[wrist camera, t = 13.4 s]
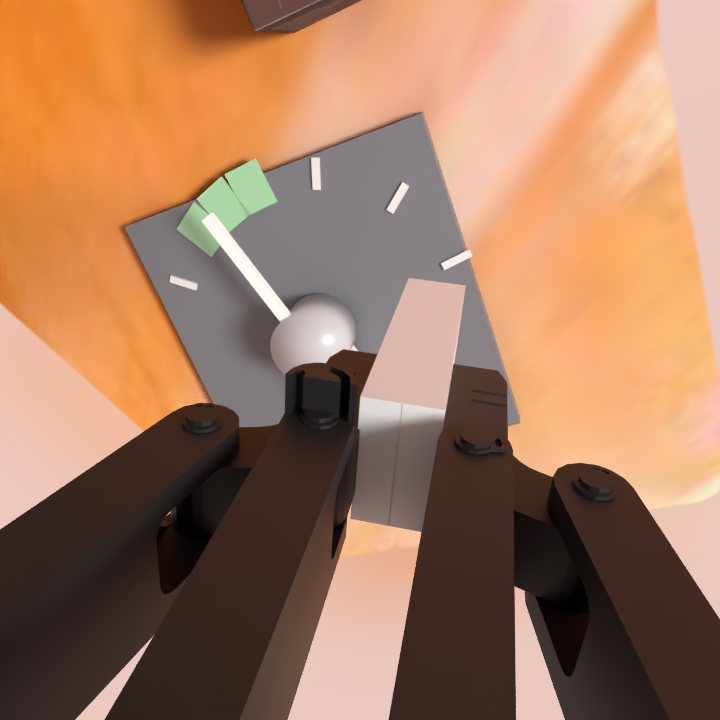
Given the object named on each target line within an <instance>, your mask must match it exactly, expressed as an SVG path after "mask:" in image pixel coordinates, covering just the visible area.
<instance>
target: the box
mask: <svg viewBox="0 0 720 720" xmlns="http://www.w3.org/2000/svg"><path fill="white" fill-rule="evenodd" d="M241 1H242V3H243V5H244V8H245V11H246V12H247V15H248V17H249V20H250V22H251V24H252V27H253V29H254V30H255V31H271V32H292V33H294V32H297V31H299V30H301V29H303V28H305V27H307V26H310V25H312V24H314V23H315V22H318V21H320V20H322V19H324V18H326V17H328V16H330V15H332V14H334V13H336V12H338V11H340V10H342V9H344V8H346V7H348V6H351V5H353V4H355V3H357V2H359V1H361V0H241Z"/></svg>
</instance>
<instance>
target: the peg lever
mask: <svg viewBox="0 0 720 720" xmlns="http://www.w3.org/2000/svg"><path fill="white" fill-rule="evenodd" d="M202 222H203V224H204V225H205V226H206V228H207V229H208V230H209V231H210V233H211V234H212V235H213V237H214V238H215V239H216V240H217V242H218V243H219V244H220V245H221V247H222V248H223V249H224V251H225V252H226V253H227V254H228V256H229V257H230V258H231V260H232V261H233V262H234V263H235V265H236V266H237V267H238V269H239V270H240V271H241V272H242V274H243V275H244V276H245V278H246V279H247V280H248V281H249V283H250V284H251V285H252V286H253V288H254V289H255V290H256V292H257V293H258V294H259V295H260V297H261V298H262V299H263V301H264V302H265V303H266V304H267V306H268V307H269V308H270V310H271V311H272V312H273V313H274V315H275V316H276V317H277V319H278V320H279V321H280V323H279V325H278V326H277V327H276V329H275V330H274V332H273V334H272V337H271V342H270V350H271V355H272V358H273V361H274V362H275V364H276V366H277V367H278V369H279V370H280V371H281V372H282V373H283V374H284V375H285V374H286V373H287V372H288V371H289V370H290V369H292V368H293V367H296V366H299V365H302V364H307V363H315V362H317V363H326V362H327V361H328V359H329V357H331V356H333V355H334V354H336V353H338V352H339V351H341V350H343V349H346V350H353V351H358V350H357V349H356V347H355V346H354V343H355V340H356V336H357V324H356V320H355V317H354V315H353V313H352V312H351V310H350V309H349V308H348V307H347V305H345V304H344V303H343V302H342V301H340V300H339V299H337V298H335V297H333V296H330V295H326V294H312V295H308V296H305V297H303V298H302V299H300V300H299V301H298V302H297V303H296V304H295V305H294V306H293V307H292V308H291V310H290V311H289V310H288V309H287V307H286V306H285V305H284V303H283V302H282V301H281V300H280V298H279V297H278V296H277V294H276V293H275V292H274V291H273V289H272V288H271V287H270V285H269V284H268V283H267V281H266V280H265V279H264V278H263V276H262V275H261V274H260V272H259V271H258V270H257V269H256V267H255V266H254V265H253V263H252V262H251V261H250V259H249V258H248V257H247V256H246V254H245V253H244V252H243V250H242V249H241V248H240V246H239V245H238V244H237V243H236V241H235V240H234V239H233V237H232V236H231V235H230V234H229V232H228V231H227V230H226V228H225V227H224V226H223V224H222V223H221V222H220V221H219V219H218V218H217V217H216V215H215V214H214V213H211V214H210V215H208V216H207V217H206V218H205V219H203V220H202Z"/></svg>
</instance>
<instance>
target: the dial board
mask: <svg viewBox="0 0 720 720" xmlns="http://www.w3.org/2000/svg"><path fill="white" fill-rule="evenodd" d="M224 175H225V177H226V179H227V180H228V182H229V184H230V186H229V185H228V183H227V182H226V181H225V180H224V179H223V177H220V178H219V179H218V180H217V181H216V182H214V183H213V184H212V185H211V186H210V187H209V188H208V189H207V190H206V191H205V192H203V193H202V194H201V195H200V196H199V197H198V198H197V199H195V200H192V201H189V202H187V203H184V204H181V205H179V206H176V207H174V208H171V209H168V210H166V211H163V212H161V213H158V214H155V215H153V216H150V217H148V218H145V219H142V220H140V221H137V222H135V223H132V224H130V225H128V226H126V227H125V229H126V231H127V233H128V235H129V237H130V239H131V241H132V243H133V245H134V247H135V249H136V251H137V253H138V255H139V257H140V259H141V261H142V263H143V265H144V267H145V269H146V271H147V273H148V275H149V277H150V279H151V281H152V283H153V285H154V287H155V289H156V291H157V293H158V295H159V297H160V299H161V301H162V303H163V305H164V307H165V309H166V311H167V313H168V315H169V317H170V319H171V321H172V323H173V325H174V327H175V329H176V331H177V333H178V335H179V337H180V339H181V341H182V343H183V345H184V347H185V348H186V350H187V352H188V354H189V356H190V358H191V360H192V362H193V364H194V366H195V368H196V370H197V372H198V374H199V376H200V378H201V380H202V382H203V384H204V386H205V388H206V390H207V392H208V394H209V396H210V398H211V400H212V402H213V404H217V405H222V406H225V407H227V408H229V409H231V410H233V411H234V412H235V413H236V414H237V415H238V417H239V427H263V426H272V425H276V424H278V423H279V422H280V420H281V418H282V417H283V415H284V413H285V375H284V374H283V373H282V372H281V371H280V370H279V369H278V367H277V366H276V364H275V362H274V361H273V358H272V355H271V350H270V342H271V337H272V334H273V332H274V330H275V329H276V327H277V326H278V325H279V323H280V321H279V320H278V319H277V317H276V316H275V315H274V313H273V312H272V311H271V310H270V308H269V307H268V306H267V304H266V303H265V302H264V301H263V299H262V298H261V297H260V295H259V294H258V293H257V292H256V290H255V289H254V288H253V286H252V285H251V284H250V283H249V281H248V280H247V279H246V278H245V276H244V275H243V274H242V272H241V271H240V270H239V269H238V267H237V266H236V265H235V263H234V262H233V261H232V260H231V258H230V257H229V256H228V254H227V253H226V252H225V251H224V249H223V248H222V247H221V245H220V244H219V243H218V242H217V240H216V239H215V238H214V237H213V235H212V234H211V233H210V231H209V230H208V229H207V228H206V226H205V225H204V224H203V222H202V220H203V219H205V218H206V217H207V216H208V215H210V214H211V213H214V214H215V215H216V217H217V218H218V219H219V221H220V222H221V223H222V224H223V226H224V227H225V228H226V230H227V231H228V232H229V234H230V235H231V236H232V237H233V239H234V240H235V241H236V243H237V244H238V245H239V246H240V248H241V249H242V250H243V252H244V253H245V254H246V256H247V257H248V258H249V259H250V261H251V262H252V263H253V265H254V266H255V267H256V269H257V270H258V271H259V272H260V274H261V275H262V276H263V278H264V279H265V280H266V281H267V283H268V284H269V285H270V287H271V288H272V289H273V291H274V292H275V293H276V294H277V296H278V297H279V298H280V300H281V301H282V302H283V303H284V305H285V306H286V307H287V309H288V310H289V311H290V310H291V308H292V307H293V306H294V305H295V304H296V303H297V302H298V301H299V300H300V299H302V298H303V297H305V296H308V295H312V294H326V295H330V296H333V297H335V298H337V299H339V300H340V301H342V302H343V303H344V304H345V305H347V307H348V308H349V309H350V310H351V312H352V313H353V315H354V317H355V320H356V324H357V336H356V340H355V343H354V346H355V347H356V349H357V350H358V351H359V352H366V353H373V354H378V352H379V350H380V347H381V345H382V342H383V340H384V337H385V335H386V332H387V330H388V328H389V325H390V323H391V320H392V318H393V315H394V313H395V310H396V308H397V306H398V303H399V301H400V298H401V296H402V293H403V291H404V288H405V286H406V283H407V281H408V279H409V278H413V279H421V280H428V281H436V282H444V283H451V284H459V285H466V287H465V294H464V301H463V307H462V314H461V321H460V328H459V334H458V341H457V348H456V354H455V361H454V364H458V365H464V366H471V367H478V368H484V369H491V370H498V371H499V373H500V374H501V375H502V376H503V378H504V379H505V380H506V381H507V418H508V426H510V425H514V424H519V423H520V415H519V412H518V409H517V406H516V403H515V400H514V397H513V393H512V390H511V387H510V384H509V381H508V378H507V375H506V371H505V368H504V365H503V362H502V359H501V356H500V353H499V349H498V346H497V343H496V340H495V337H494V334H493V331H492V328H491V324H490V321H489V318H488V315H487V312H486V309H485V306H484V302H483V299H482V296H481V293H480V290H479V287H478V284H477V281H476V277H475V274H474V271H473V268H472V265H471V262H470V259H469V258H470V257H472V254H471V252H470V250H469V249H466V246H465V243H464V240H463V237H462V234H461V230H460V227H459V224H458V221H457V218H456V215H455V212H454V208H453V205H452V202H451V199H450V196H449V193H448V190H447V186H446V183H445V180H444V177H443V174H442V171H441V168H440V165H439V161H438V158H437V155H436V152H435V149H434V146H433V143H432V139H431V136H430V133H429V130H428V127H427V124H426V121H425V118H424V114H423V112H421V113H419V114H416V115H413V116H411V117H408V118H406V119H403V120H400V121H398V122H395V123H392V124H390V125H387V126H385V127H382V128H379V129H377V130H374V131H372V132H369V133H366V134H364V135H361V136H359V137H356V138H353V139H351V140H348V141H346V142H343V143H340V144H338V145H335V146H333V147H330V148H327V149H325V150H322V151H320V152H317V153H314V154H312V155H309V156H307V157H304V158H301V159H299V160H296V161H294V162H291V163H288V164H286V165H283V166H280V167H278V168H275V169H273V170H270V171H267V172H265V173H263V172H262V170H261V168H260V166H259V164H258V162H257V160H256V158H255V159H253V160H251V161H249V162H248V163H246V164H244V165H242V166H240V167H238V168H236V169H234V170H232V171H230V172H228V173H226V174H224Z"/></svg>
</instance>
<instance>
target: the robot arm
mask: <svg viewBox="0 0 720 720" xmlns="http://www.w3.org/2000/svg"><path fill="white" fill-rule="evenodd" d="M465 287H466V285H459V284H451V283H444V282H436V281H428V280H421V279H413V278H409V279H408V281H407V283H406V286H405V288H404V291H403V293H402V296H401V298H400V301H399V303H398V306H397V308H396V310H395V313H394V315H393V318H392V320H391V323H390V325H389V328H388V330H387V332H386V335H385V337H384V340H383V342H382V345H381V347H380V350H379V352H378V354H373V353H366V352H359V351H353V350H346V349H343V350H341V351H339V352H338V353H336V354H334V355H333V356H331V357H329V359H328V361H327V362H326V363H317V362H315V363H307V364H302V365H299V366H296V367H293V368H292V369H290V370H289V371H288V372H287V373H286V374H285V413H284V415H283V417H282V418H281V420H280V422H279V423H278V424H276V425H272V426H263V427H239V417H238V415H237V414H236V413H235V412H234V411H233V410H231V409H229V408H227V407H225V406H222V405H217V404H212V403H206V404H204V403H197V404H194V405H189V406H185V407H182V408H180V409H178V410H176V411H174V412H172V413H170V414H169V415H167V416H166V417H165V418H163V419H162V420H160V421H159V422H157V423H156V424H154V425H153V426H151V427H150V428H148V429H147V430H145V431H144V432H143V433H141V434H140V435H138V436H137V437H135V438H134V439H132V440H131V441H129V442H128V443H126V444H125V445H123V446H122V447H121V448H119V449H118V450H116V451H115V452H113V453H112V454H110V455H109V456H107V457H106V458H104V459H103V460H101V461H100V462H99V463H97V464H96V465H94V466H93V467H91V468H90V469H88V470H87V471H85V472H84V473H82V474H81V475H79V476H78V477H77V478H75V479H74V480H72V481H71V482H69V483H68V484H66V485H65V486H63V487H62V488H60V489H59V490H58V491H56V492H55V493H53V494H52V495H50V496H49V497H47V498H46V499H44V500H43V501H41V502H40V503H39V504H37V505H36V506H34V507H33V508H31V509H30V510H28V511H27V512H26V513H24V514H22V515H21V516H20V517H18V518H16V519H15V520H14V521H12V522H11V523H9V524H8V525H6V526H5V527H3V528H2V529H0V720H75V719H76V718H77V717H78V716H79V715H80V714H81V713H82V712H83V711H84V709H85V708H86V707H87V706H88V705H89V704H90V703H91V702H92V701H93V700H94V699H95V698H96V697H97V696H98V694H99V693H100V692H101V691H102V690H103V689H104V688H105V687H106V686H107V685H108V684H109V682H110V681H111V680H112V679H113V678H114V677H115V676H116V675H117V674H118V673H119V672H120V671H121V670H122V669H123V668H124V667H125V666H126V665H127V663H128V662H129V661H130V660H131V659H132V658H133V657H134V656H135V655H136V654H137V653H138V652H139V651H140V649H141V648H142V647H143V646H144V645H145V644H146V643H147V642H148V641H149V640H150V639H151V638H152V637H153V636H154V637H153V638H152V640H151V642H150V643H149V645H148V647H147V648H146V650H145V652H144V654H143V655H142V657H141V659H140V660H139V662H138V664H137V665H136V667H135V669H134V671H133V672H132V674H131V676H130V677H129V679H128V681H127V682H126V684H125V686H124V688H123V689H122V691H121V693H120V694H119V696H118V698H117V700H116V701H115V703H114V705H113V706H112V708H111V710H110V711H109V713H108V715H107V716H106V718H105V720H287V719H288V716H289V713H290V709H291V707H292V704H293V700H294V697H295V694H296V691H297V688H298V685H299V682H300V678H301V675H302V672H303V669H304V666H305V663H306V660H307V656H308V653H309V650H310V647H311V644H312V641H313V637H314V634H315V631H316V628H317V625H318V622H319V619H320V616H321V612H322V609H323V606H324V603H325V600H326V597H327V594H328V590H329V587H330V584H331V581H332V578H333V575H334V572H335V568H336V565H337V562H338V559H339V556H340V553H341V550H342V547H343V543H344V540H345V537H346V526H347V515H348V512H349V509H350V506H351V503H352V507H351V519H355V520H361V521H366V522H371V523H377V524H382V525H387V526H393V527H398V528H404V529H409V530H414V531H420V532H422V533H421V539H420V544H419V550H418V556H417V561H416V567H415V573H414V578H413V585H412V590H411V596H410V602H409V607H408V613H407V618H406V624H405V630H404V636H403V641H402V647H401V652H400V659H399V664H398V670H397V676H396V681H395V687H394V692H393V698H392V704H391V710H390V716H389V720H516V689H515V688H516V686H515V607H514V606H515V604H514V602H515V601H514V600H515V598H514V586H515V587H518V588H520V589H522V590H524V591H525V602H526V606H527V609H528V612H529V614H530V618H531V620H532V623H533V626H534V630H535V633H536V635H537V638H538V641H539V644H540V647H541V650H542V653H543V656H544V659H545V662H546V665H547V668H548V670H549V674H550V677H551V680H552V682H553V686H554V689H555V691H556V694H557V697H558V700H559V703H560V706H561V709H562V712H563V715H564V718H565V720H720V619H719V617H718V616H717V614H716V613H715V611H714V610H713V608H712V607H711V605H710V604H709V602H708V601H707V599H706V598H705V596H704V595H703V593H702V592H701V590H700V588H699V587H698V586H697V584H696V582H695V581H694V579H693V578H692V576H691V575H690V573H689V572H688V570H687V569H686V567H685V566H684V565H683V563H682V561H681V560H680V558H679V557H678V555H677V554H676V552H675V550H674V549H673V547H672V546H671V544H670V543H669V541H668V540H667V538H666V537H665V535H664V534H663V532H662V531H661V529H660V528H659V526H658V525H657V523H656V522H655V520H654V518H653V517H652V515H651V514H650V512H649V511H648V509H647V508H646V506H645V505H644V503H643V502H642V500H641V499H640V497H639V496H638V494H637V493H636V491H635V490H634V488H633V487H632V486H631V485H630V484H629V483H628V482H627V481H626V480H625V479H624V478H623V477H621V476H619V475H618V474H616V473H614V472H613V471H611V470H609V469H606V468H604V467H603V468H602V467H601V466H597V465H591V464H584V463H576V464H567V465H565V466H563V467H561V468H558V469H557V471H556V473H555V474H554V476H553V477H551V476H548V475H546V474H543V473H540V472H538V471H536V470H533V469H531V468H529V467H527V466H526V465H524V464H523V463H521V462H520V461H519V460H518V459H517V458H515V457H514V456H513V449H512V447H511V444H510V442H509V441H508V418H507V381H506V380H505V379H504V378H503V376H502V375H501V374H500V373H499V371H498V370H491V369H484V368H478V367H471V366H464V365H458V364H454V361H455V354H456V348H457V341H458V334H459V328H460V321H461V314H462V307H463V301H464V294H465ZM169 512H170V514H169V515H167V514H168V513H169ZM166 515H167V516H166Z"/></svg>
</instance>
